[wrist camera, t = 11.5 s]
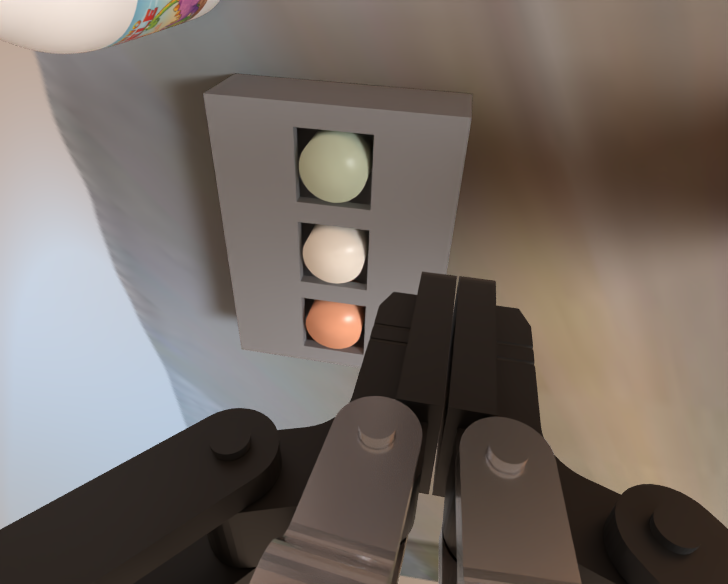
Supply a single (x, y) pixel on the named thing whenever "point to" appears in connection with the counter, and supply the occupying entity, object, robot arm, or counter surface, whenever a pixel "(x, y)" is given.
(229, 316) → the counter surface
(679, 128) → the counter surface
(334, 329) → the terracotta button
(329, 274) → the off-white button
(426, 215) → the button console
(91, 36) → the milk bottle
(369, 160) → the sage button
